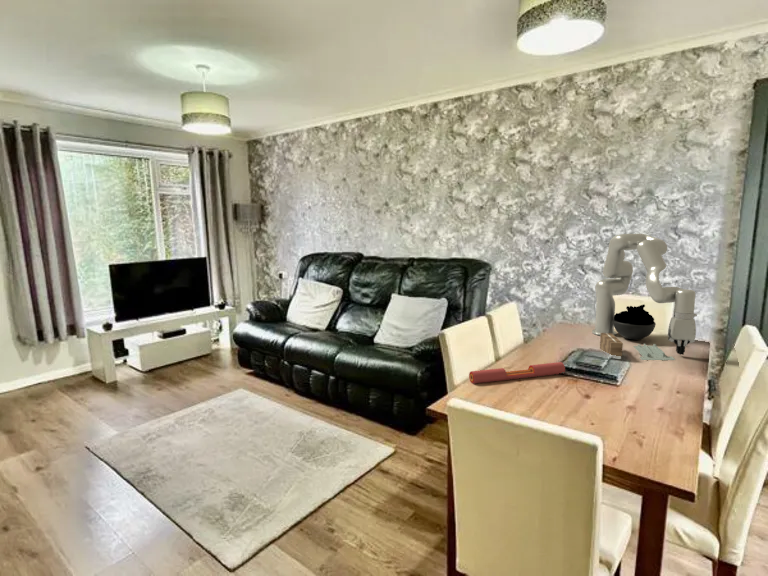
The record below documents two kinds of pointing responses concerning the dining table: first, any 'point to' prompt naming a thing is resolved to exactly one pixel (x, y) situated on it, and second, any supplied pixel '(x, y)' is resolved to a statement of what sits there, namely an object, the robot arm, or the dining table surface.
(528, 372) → the blood vessel
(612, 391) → the dining table surface
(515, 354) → the dining table surface
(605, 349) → the block
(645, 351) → the metal bracket
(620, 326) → the bowl of black rocks
